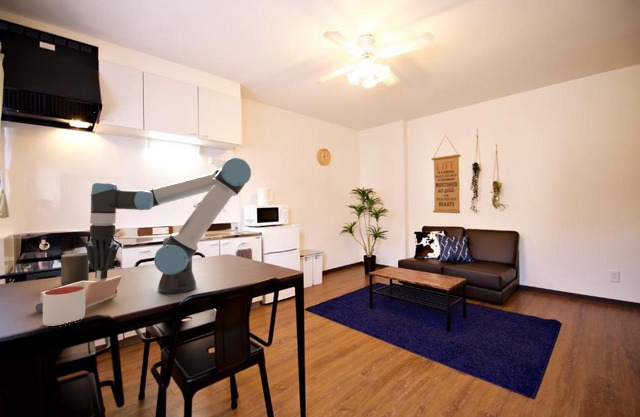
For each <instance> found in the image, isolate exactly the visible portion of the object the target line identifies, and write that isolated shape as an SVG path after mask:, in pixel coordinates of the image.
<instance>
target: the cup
mask: <svg viewBox="0 0 640 417" xmlns="http://www.w3.org/2000/svg"><path fill="white" fill-rule="evenodd" d="M60 287H61V288H58V287H56V289H55V288H51V289H52V290H51V289H48V290H49V291H48V290H45V291H46V292H44V291H43V292H44V293H43V312H42V324H43V325H44V326H45V327H48V326H55V325H61V324H64V323H68V322H71V321H76V320H79V319H81V320H82V319H84V317H85V316H86V308H85V287H83V286H69V287H62V286H60Z"/></svg>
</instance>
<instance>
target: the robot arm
mask: <svg viewBox="0 0 640 417" xmlns="http://www.w3.org/2000/svg"><path fill="white" fill-rule="evenodd" d="M251 175H252V170H251V167H250V165H249V164H248V162H247V161H246V160H245V159H242V158H240V157H231V158H229V159H227V160H225V161H224V162H223V164H222V165H221V167H220V168H217V169H214V170H213V171H212V172H211V173H207V174H203V175H201V176H196V177H192V178H189V179H183V180H180V181H176V182H174V183H173V182H172V183H169V184H165V185H161V186H158V187H154V188H150V189H146V190H143V189H140V190H138V189H122V188H121V189H120V188H118V185H117V184H116V183H107V182H106V183H105V182H95V183H93V184H92V186H91V192H90V193H91V194H90V218H89V221H90V222H89V223H90V224H91V225H89V235H90V236H91V237H90V240H89V241H87V242H86V241H85V242H84V243H83V245H84V247H85V249H86V253H87V254H88V259H89V267H90V268H89V269H94V272H95V274H94V275H95V276H94V277H95V280H96V282H99V281H102V280H105V279H108V270H109V269H113V268H114V264H115V262H116V258H117V254H118V251H119V248H121V243H118V242H116V241H115V240H116V239H115V237H114V236H115V234H116V225H115V224H116V220H117V219H116V217H117V214H116V213H117V210H134V211H138V210H139V211H150V210H151V209H152V208H154V207H157V206H161V205H164V204H168V203H171V202H174V201H178V200H182V199H186V198H189V197H192V196H196V195H199V194H204V193H206V194H205V196H204V197H203V198H202V200H201V201H200V203H199V204H198V205H197V206H196V208H195V209H194V211H193V212H192V213H191V214H190V215H189V217H188V218H187V220H186V221H185V223H184V224H183V225H182V226H181V228H180V229H179V230H178V231H177V232H175V233H174V232H173V233H171V234H170V236H169V237H164V238H163V242H162V246H161V247H160V248H159V249H158V250H156V253H155V256H154V259H153V260H154V265H155V268H156V269H157V270H158V271H159V272H160V273H162V275H161V278H160V280H159V283H158V286H157V292H158V293H160V294H165V295H166V294H169V295H173V294H175V295H176V294H182V293H183V294H184V293H187V291H188V292H190V290H191V291H193V290H196V288H197V282H196V281H197V280H196V279H195V275H194V272H193V257H194V255H195V254H196V252H197V251H198V250H199V247H198V243H199V242H200V240H201V239H202V238H203V237H204V235H205V234H206V232H207V231H208V230H209V228H210V227H211V225H212V224H213V223H214V221H215V220H216V219H217V217H218V216H219V215H220V213H221V212H222V210H223V209H224V208H225V206H226V205H227V204H228V202H229V201H230V199H231V198H232V197H235V196H238V195H239V193H240V192H241V190H242V189H243V188H244V186H245V185H246V184H247V183H249V181H250V178H251V177H252V176H251Z"/></svg>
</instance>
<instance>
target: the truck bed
mask: <svg viewBox="0 0 640 417" xmlns="http://www.w3.org/2000/svg"><path fill="white" fill-rule="evenodd" d="M95 282H96V281H93V280H88V281H80V282H76V283H73V284H69V285H66V286H59V287H56V288H61V287H69V286H83V287H85V294H86V291H87V289H88V286H89V284H92V283H95ZM56 288H55V287H54V289H56ZM52 289H53V288H51V289H48V290H43V291H41V292H40V302H39V303H37V304H36V305H35V311H36V312H37V313H43V293H44V292H46V291H49V290H52ZM116 294H118V288H117V289H116V292H115V294H114V295H112V296H109V297H106V298H104V299H101V300H99V301H96V302H93V303H91V304H88V305H85V309H87V308H90V307H92V306H95V305H98V304H99V303H103V302H105V301H108V300H110V299H113V298H115V295H116Z"/></svg>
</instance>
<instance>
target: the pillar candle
mask: <svg viewBox="0 0 640 417" xmlns="http://www.w3.org/2000/svg"><path fill="white" fill-rule="evenodd" d="M60 264H61V270H60V287H62V286H66V285H69V284H73V283H76V282H80V281H90V280H89V274H90V271H89V270H90V268H89V267H90V264H89V259H88V254H87V252H86V253H85V252H76V251H75V252H74V253H69V254H63V255H61V263H60Z"/></svg>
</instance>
